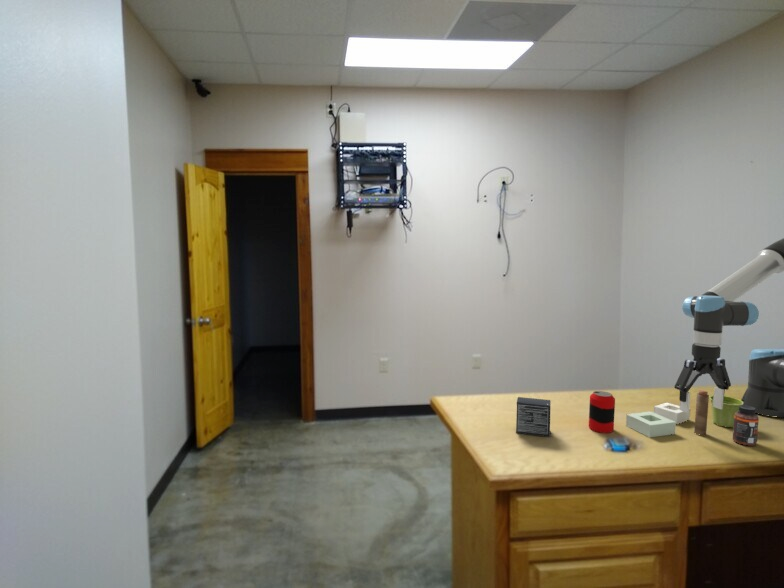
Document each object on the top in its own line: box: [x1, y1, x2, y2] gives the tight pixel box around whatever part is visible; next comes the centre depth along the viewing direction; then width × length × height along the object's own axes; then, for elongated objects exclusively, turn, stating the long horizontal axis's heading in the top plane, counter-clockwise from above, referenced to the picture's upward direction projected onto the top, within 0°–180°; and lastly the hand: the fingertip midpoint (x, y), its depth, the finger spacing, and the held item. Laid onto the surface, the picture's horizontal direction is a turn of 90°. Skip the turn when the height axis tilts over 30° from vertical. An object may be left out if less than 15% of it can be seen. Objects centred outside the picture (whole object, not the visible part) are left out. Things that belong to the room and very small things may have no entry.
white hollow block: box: [653, 402, 691, 425], centre depth 163 cm, size 8×8×4 cm
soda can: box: [588, 390, 616, 434], centre depth 153 cm, size 8×8×12 cm
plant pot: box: [709, 395, 743, 428], centre depth 157 cm, size 9×9×9 cm
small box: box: [515, 396, 552, 438], centre depth 151 cm, size 11×6×10 cm, turn 71°
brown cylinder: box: [693, 390, 710, 436], centre depth 149 cm, size 3×3×14 cm
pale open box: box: [625, 411, 677, 438], centre depth 153 cm, size 10×10×4 cm
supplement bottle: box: [732, 405, 760, 447], centre depth 143 cm, size 6×6×11 cm
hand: (700, 409), depth 149 cm, fingers open, 13 cm apart
